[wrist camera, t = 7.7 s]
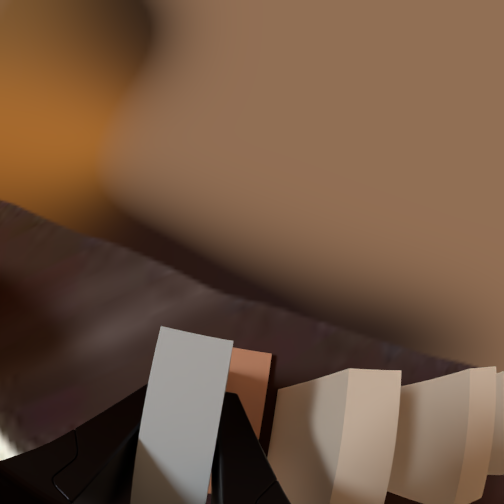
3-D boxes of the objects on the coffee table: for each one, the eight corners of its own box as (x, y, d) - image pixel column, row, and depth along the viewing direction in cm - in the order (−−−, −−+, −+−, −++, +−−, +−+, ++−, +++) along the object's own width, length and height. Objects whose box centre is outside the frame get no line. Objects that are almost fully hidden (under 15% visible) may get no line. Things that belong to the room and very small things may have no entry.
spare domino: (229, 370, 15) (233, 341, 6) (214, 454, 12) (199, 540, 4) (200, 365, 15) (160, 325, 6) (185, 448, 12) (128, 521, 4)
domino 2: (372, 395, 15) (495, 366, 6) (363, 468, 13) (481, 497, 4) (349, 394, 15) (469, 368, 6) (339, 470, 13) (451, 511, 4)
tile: (247, 496, 11) (247, 498, 11) (142, 475, 11) (140, 476, 11) (270, 355, 16) (271, 353, 16) (169, 335, 16) (168, 334, 16)
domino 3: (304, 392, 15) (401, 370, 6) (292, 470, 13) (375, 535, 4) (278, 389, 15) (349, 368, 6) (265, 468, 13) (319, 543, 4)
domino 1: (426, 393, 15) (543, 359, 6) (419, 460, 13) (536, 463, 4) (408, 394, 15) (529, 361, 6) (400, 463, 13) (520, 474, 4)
